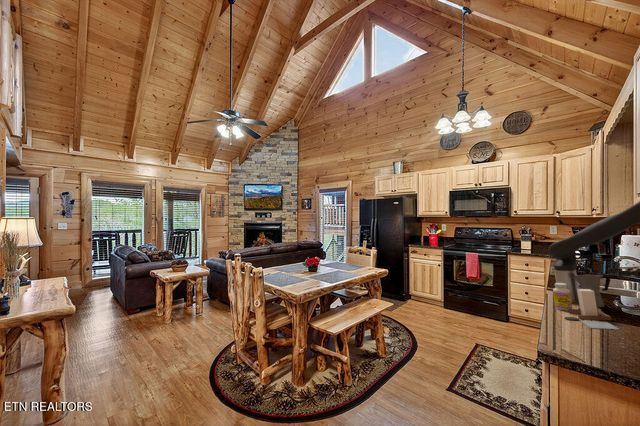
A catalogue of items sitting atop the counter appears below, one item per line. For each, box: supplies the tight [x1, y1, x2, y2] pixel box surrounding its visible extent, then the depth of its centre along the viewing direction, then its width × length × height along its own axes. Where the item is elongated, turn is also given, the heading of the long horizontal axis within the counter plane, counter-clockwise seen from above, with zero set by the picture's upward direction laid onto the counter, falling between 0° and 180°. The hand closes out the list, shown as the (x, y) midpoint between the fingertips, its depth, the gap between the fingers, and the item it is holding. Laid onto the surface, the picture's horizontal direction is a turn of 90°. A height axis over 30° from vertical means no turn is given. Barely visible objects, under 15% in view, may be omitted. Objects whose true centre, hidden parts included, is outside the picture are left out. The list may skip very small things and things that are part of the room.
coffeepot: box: [573, 270, 611, 308], centre depth 144 cm, size 15×9×18 cm, turn 70°
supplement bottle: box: [552, 282, 573, 311], centre depth 141 cm, size 7×7×13 cm
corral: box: [568, 308, 612, 321], centre depth 128 cm, size 11×11×2 cm
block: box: [577, 288, 599, 316], centre depth 129 cm, size 4×4×12 cm
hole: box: [564, 316, 580, 322], centre depth 126 cm, size 5×5×1 cm
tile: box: [579, 320, 620, 331], centre depth 116 cm, size 9×9×1 cm
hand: (612, 272), depth 125 cm, fingers open, 8 cm apart
